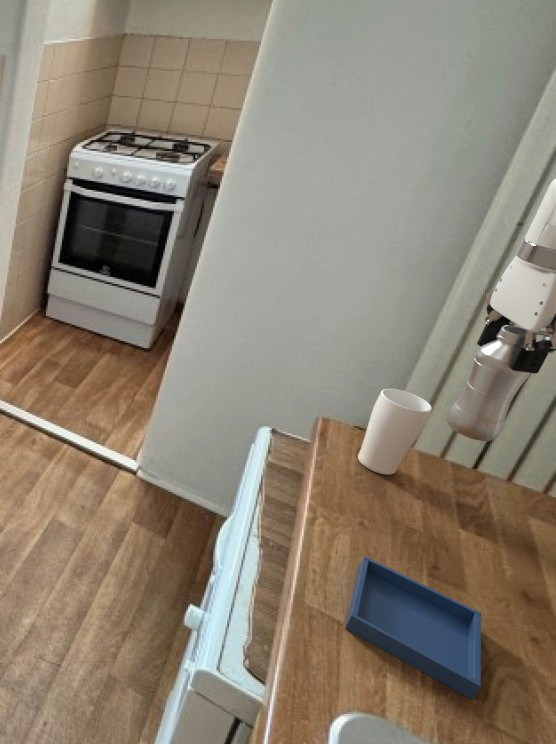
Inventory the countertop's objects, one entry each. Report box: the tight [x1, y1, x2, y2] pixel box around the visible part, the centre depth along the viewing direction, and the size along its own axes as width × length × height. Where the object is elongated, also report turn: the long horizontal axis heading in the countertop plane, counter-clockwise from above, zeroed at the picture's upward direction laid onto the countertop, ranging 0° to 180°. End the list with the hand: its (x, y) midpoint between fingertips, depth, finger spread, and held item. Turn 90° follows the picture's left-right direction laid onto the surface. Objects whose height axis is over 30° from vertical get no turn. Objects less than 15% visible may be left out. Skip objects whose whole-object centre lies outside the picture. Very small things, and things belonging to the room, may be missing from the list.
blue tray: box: [344, 555, 482, 700], centre depth 82 cm, size 14×12×3 cm
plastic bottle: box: [445, 325, 532, 442], centre depth 98 cm, size 6×7×20 cm
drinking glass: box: [357, 388, 433, 476], centre depth 108 cm, size 7×7×15 cm
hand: (506, 357), depth 96 cm, fingers closed on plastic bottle, 6 cm apart
